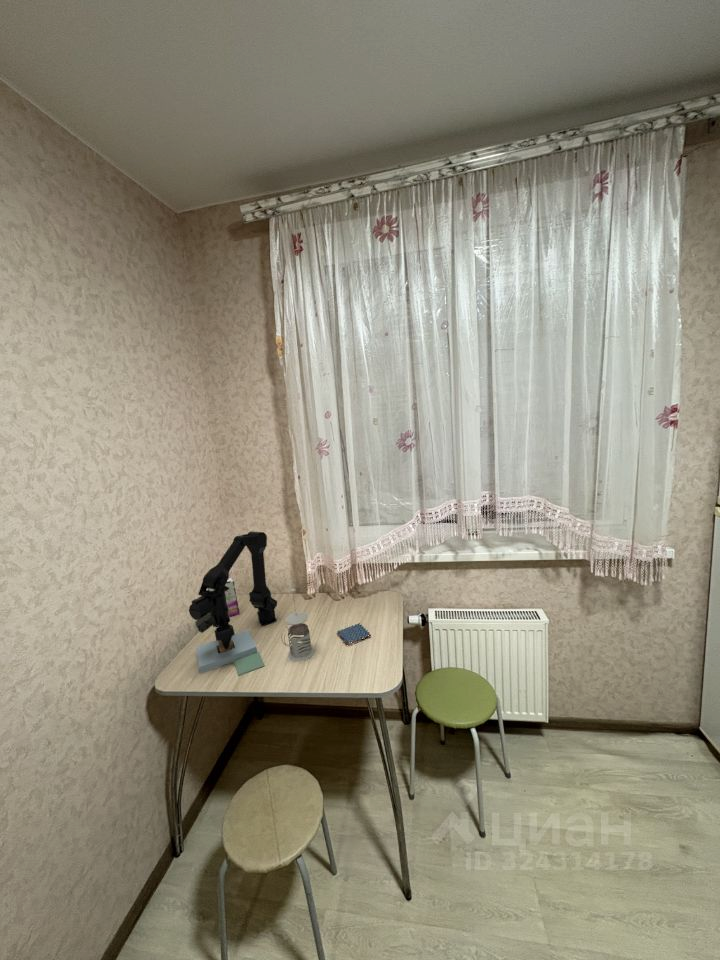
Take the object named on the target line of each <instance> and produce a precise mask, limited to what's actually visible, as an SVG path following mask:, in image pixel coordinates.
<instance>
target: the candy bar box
mask: <svg viewBox="0 0 720 960" xmlns="http://www.w3.org/2000/svg"><path fill="white" fill-rule="evenodd" d="M225 586H226V587H229V590H227V591H225V596H226V602H227V607H228V614H229V618H232V617H234V616H237V615H240V609H239V608H240V607H239V602H238V597H237V592H236V586H235V580H234V578H233V577H232V576H231V577H229V578H228V580H227V582H226V584H225ZM207 590H209V591H213V590H214V589H208V588H207Z"/></svg>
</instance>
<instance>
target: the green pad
mask: <svg viewBox="0 0 720 960" xmlns="http://www.w3.org/2000/svg"><path fill="white" fill-rule="evenodd" d="M233 663H234V665H235V669H236V672H237V675H238V677H240V676H242V675H245V674H248V673H251V672H254V671H256V670H259V669H261V668H264V667H265V662H264V660H263V658H262V656H261V653H260V652H258V651H257V653H255V654H252V655H250V656H247V657H244V658H241V659H238V660H236V661H234V662H233Z"/></svg>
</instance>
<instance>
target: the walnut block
mask: <svg viewBox="0 0 720 960" xmlns="http://www.w3.org/2000/svg"><path fill="white" fill-rule="evenodd" d="M218 645H219V651H218V652H219V654H220V653H223V652H226V651H228V650H231V649H234V646H233V645H232V640H231V641H230V644H229V648H228V649H225V648H224V646H223V643H222V641H221V640H219V641H218Z"/></svg>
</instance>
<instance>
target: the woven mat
mask: <svg viewBox="0 0 720 960" xmlns="http://www.w3.org/2000/svg"><path fill="white" fill-rule="evenodd" d="M336 635H337V637H338V638H339V639H341V641H342V642H343V641H344V642H343V644H344V645H345V646H347V645H348V646H352V645H353V644H352V643H354V644H357V643H358V641H359V642H361V641H360V640H362V638H363V639H365V638H366V637H367V638H368V637H370V638H371V636H372V635H371V633H370V632H369V631H368V630H367V629H366V628H365V626H363V624H361V622H358V623H355V624H354V625H351V626H348V627H345V628H343V629H340V630H337V633H336ZM368 635H369V636H368ZM365 640H366V639H365ZM362 641H363V640H362ZM351 642H352V643H351Z"/></svg>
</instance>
